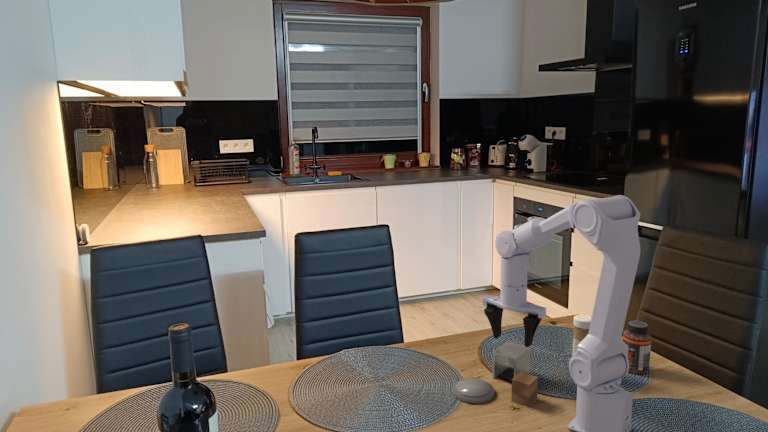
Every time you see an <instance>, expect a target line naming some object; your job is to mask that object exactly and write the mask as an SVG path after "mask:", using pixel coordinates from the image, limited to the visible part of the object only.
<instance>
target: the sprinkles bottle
mask: <svg viewBox="0 0 768 432" xmlns="http://www.w3.org/2000/svg"><path fill="white" fill-rule="evenodd" d="M591 318H592V315H588V314H576V315H574V316H573V323H572V324H573V337H572V356H573V355H574V354H575V352H576V348H577V346H578V344H579V343H580V342H581V341H582V340H583V339H584V338H585V337H586V336H587V335H588V333H589V328H590V323H591ZM572 356H571V357H572Z"/></svg>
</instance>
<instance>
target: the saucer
mask: <svg viewBox="0 0 768 432" xmlns="http://www.w3.org/2000/svg"><path fill="white" fill-rule="evenodd" d="M451 393H452V396H453V397H454V396H455V397H456V398H457V400H458V399H459V400H458V401H460V402H462V403H466V404H476V405H477V404H478V405H479V404H485V403H487V402H489V401H491V400H493V398H494V396H495V388H494V387H493V385H492V384H490V383H489V382H487V381H485V380H482V379H478V378H464V379H463V378H462V379H459V380H456V381H455V382H454V383H452V385H451ZM455 397H454V398H455ZM456 398H455V399H456Z"/></svg>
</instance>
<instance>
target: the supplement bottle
mask: <svg viewBox="0 0 768 432" xmlns="http://www.w3.org/2000/svg"><path fill="white" fill-rule="evenodd" d="M648 325H649V324H648V323H646V322H644V321H642V320H630V321H629V322H628V326H627V329H625V330H623V332H622V341H623V342H624V343H625V344H626V345H627V346H628V347H629V350H628V361H629V371H628V374H633V375H644V374H647V373H648V372H649V370H650V361H651V360H650V359H651V351H652V350H651V347H652V335H651V333H650V332H649V331H648V329H649V327H648Z"/></svg>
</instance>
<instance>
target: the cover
mask: <svg viewBox="0 0 768 432" xmlns="http://www.w3.org/2000/svg"><path fill="white" fill-rule="evenodd" d="M531 350H532V349H531V346H529V347H525V344H524V345H523V344H519V343H516V342H513V341H509V340H507V341H506V342H504V343H503V344H501V345H500V346H498V347H496V348H495V349H494V350H493V351H492V371H491V373H492V374H491V376H492V377H491V378H492V379H496V378H497V377H498V376H499V374H500V373H501V374H503V371H504V370H505V371H506V370H508V369H509V368H510V360H513V361H514V362H513V378H514V377H515V376H516V375H518V374H519V373H520V372H524V373H527V374H530V375H531ZM508 367H509V368H508ZM505 371H504V372H505ZM501 374H500V375H501Z"/></svg>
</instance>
